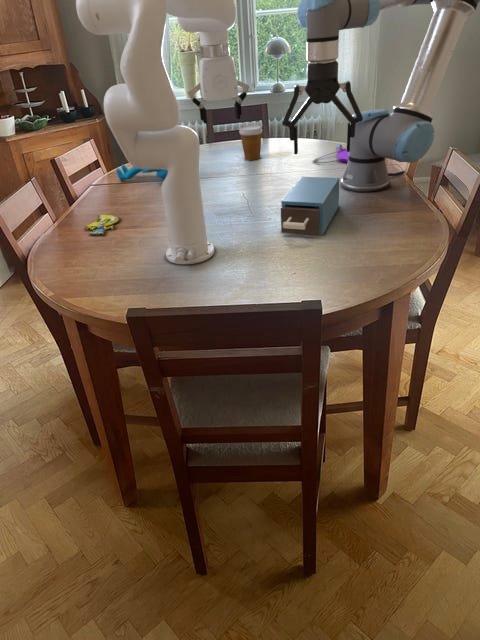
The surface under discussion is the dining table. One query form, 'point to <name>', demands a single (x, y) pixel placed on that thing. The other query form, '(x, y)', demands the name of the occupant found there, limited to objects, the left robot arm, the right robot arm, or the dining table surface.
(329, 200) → the blue drawer cabinet
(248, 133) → the disposable coffee cup
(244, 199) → the dining table surface
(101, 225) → the toy
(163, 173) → the toy
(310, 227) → the drawer
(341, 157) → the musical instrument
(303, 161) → the dining table surface
